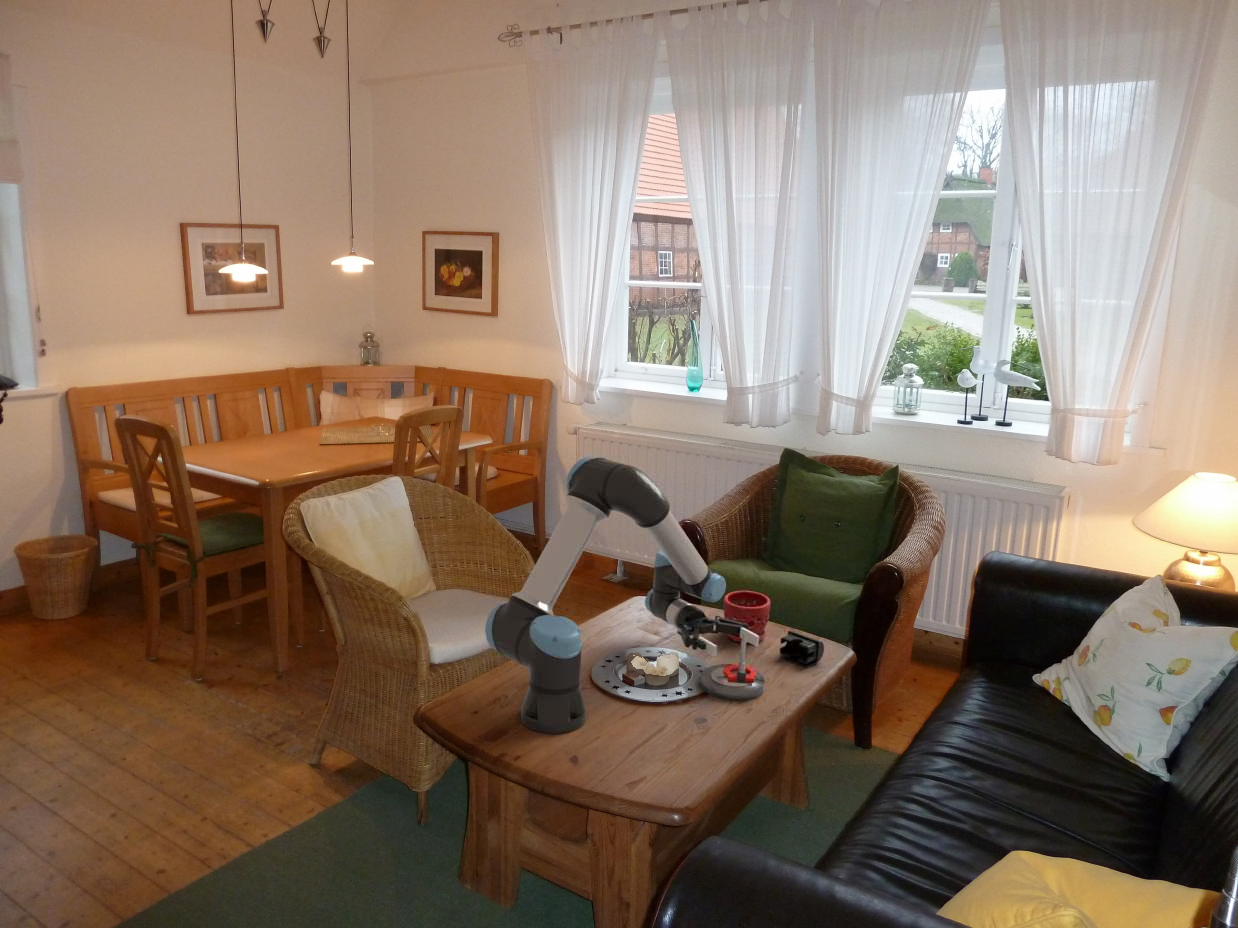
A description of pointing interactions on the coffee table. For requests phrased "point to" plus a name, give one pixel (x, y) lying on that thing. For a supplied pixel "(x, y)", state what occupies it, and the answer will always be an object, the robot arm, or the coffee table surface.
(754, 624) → the plant pot
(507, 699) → the coffee table surface
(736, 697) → the rosette plate
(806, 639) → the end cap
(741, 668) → the tow hook
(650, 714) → the coffee table surface
